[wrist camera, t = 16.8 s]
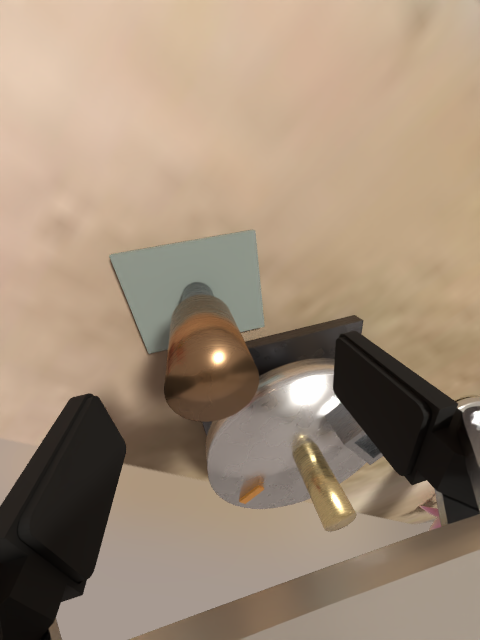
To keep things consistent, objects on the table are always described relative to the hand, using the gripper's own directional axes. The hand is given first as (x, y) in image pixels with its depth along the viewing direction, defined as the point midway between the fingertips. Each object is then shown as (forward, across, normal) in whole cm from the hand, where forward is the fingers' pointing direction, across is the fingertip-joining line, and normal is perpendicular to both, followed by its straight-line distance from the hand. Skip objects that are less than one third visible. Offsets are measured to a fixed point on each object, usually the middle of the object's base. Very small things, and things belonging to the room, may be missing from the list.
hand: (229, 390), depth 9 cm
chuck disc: (+7, -5, +13) cm, 16 cm away
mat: (+10, +1, -1) cm, 11 cm away
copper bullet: (+10, +1, -1) cm, 10 cm away
